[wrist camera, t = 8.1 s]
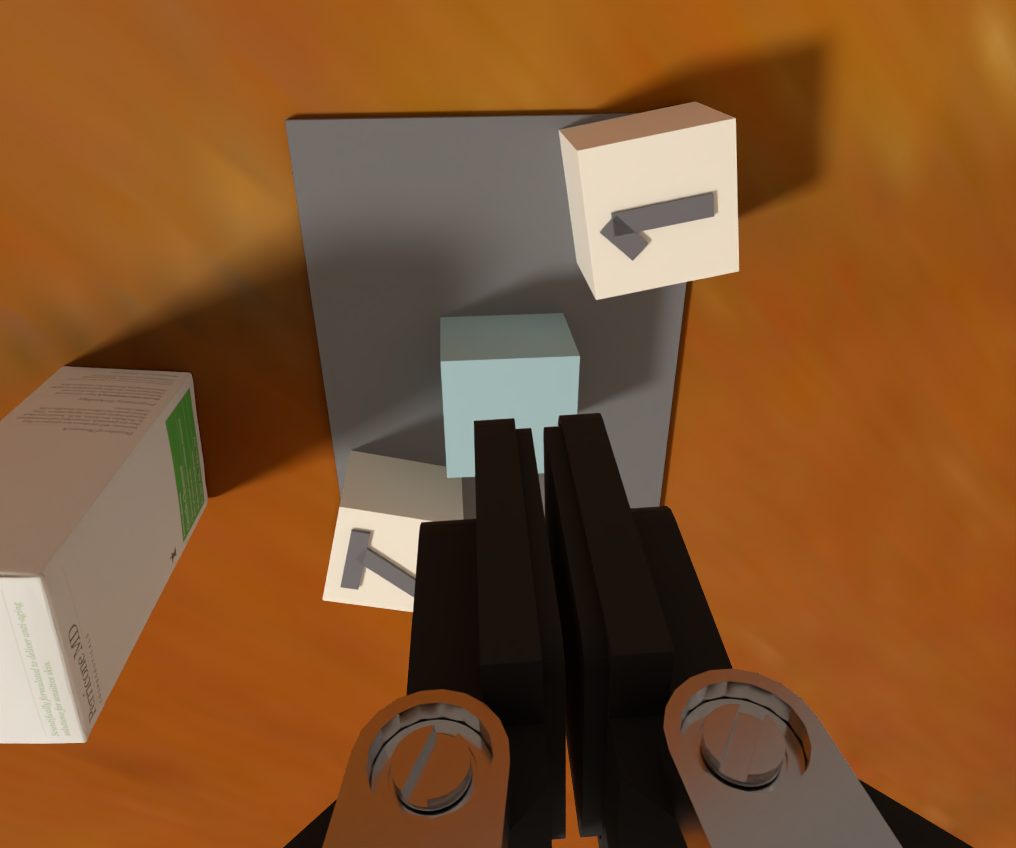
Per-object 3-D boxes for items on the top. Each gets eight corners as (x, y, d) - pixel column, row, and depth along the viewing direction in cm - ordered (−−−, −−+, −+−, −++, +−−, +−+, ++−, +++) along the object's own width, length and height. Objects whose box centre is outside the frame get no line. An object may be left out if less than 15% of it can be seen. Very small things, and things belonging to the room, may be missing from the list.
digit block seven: (461, 469, 40) (463, 528, 36) (438, 553, 43) (438, 618, 39) (350, 450, 39) (339, 509, 35) (334, 537, 42) (322, 602, 37)
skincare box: (210, 502, 40) (96, 753, 27) (83, 498, 40) (-100, 754, 26) (193, 364, 36) (48, 579, 23) (50, 356, 36) (-186, 575, 22)
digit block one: (695, 101, 32) (737, 118, 27) (701, 237, 35) (740, 272, 30) (558, 129, 32) (577, 151, 27) (576, 262, 35) (597, 301, 30)
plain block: (563, 312, 36) (580, 355, 32) (559, 419, 39) (574, 471, 35) (440, 317, 36) (440, 361, 31) (446, 424, 39) (446, 477, 34)
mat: (704, 111, 32) (706, 113, 32) (653, 541, 44) (654, 545, 44) (286, 119, 31) (285, 120, 31) (350, 558, 43) (350, 562, 43)
